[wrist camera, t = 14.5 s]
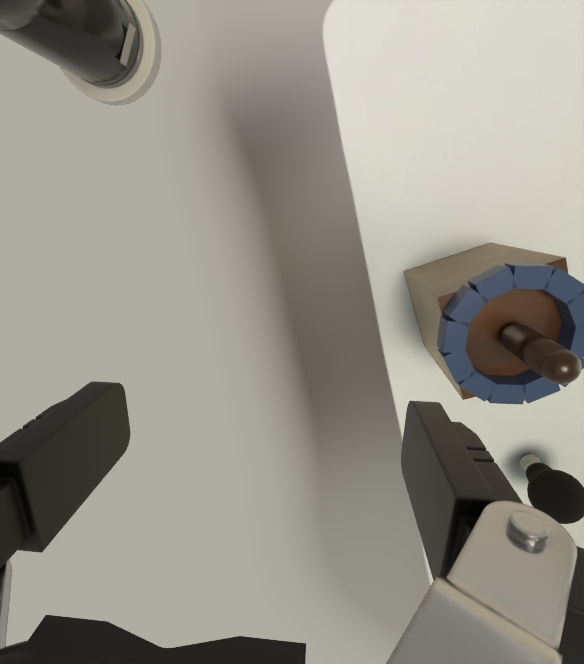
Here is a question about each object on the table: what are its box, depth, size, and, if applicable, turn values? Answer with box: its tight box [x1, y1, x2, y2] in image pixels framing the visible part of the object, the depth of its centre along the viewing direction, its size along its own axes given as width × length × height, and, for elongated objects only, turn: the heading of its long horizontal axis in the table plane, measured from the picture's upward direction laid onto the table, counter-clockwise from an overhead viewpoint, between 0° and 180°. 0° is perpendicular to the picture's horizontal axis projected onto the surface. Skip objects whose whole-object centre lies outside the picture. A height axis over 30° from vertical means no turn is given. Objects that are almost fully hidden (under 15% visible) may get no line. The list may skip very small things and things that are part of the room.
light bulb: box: [520, 454, 584, 524], centre depth 46 cm, size 6×6×10 cm
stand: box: [404, 243, 582, 400], centre depth 34 cm, size 10×10×22 cm
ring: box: [437, 263, 584, 404], centre depth 30 cm, size 12×12×2 cm
